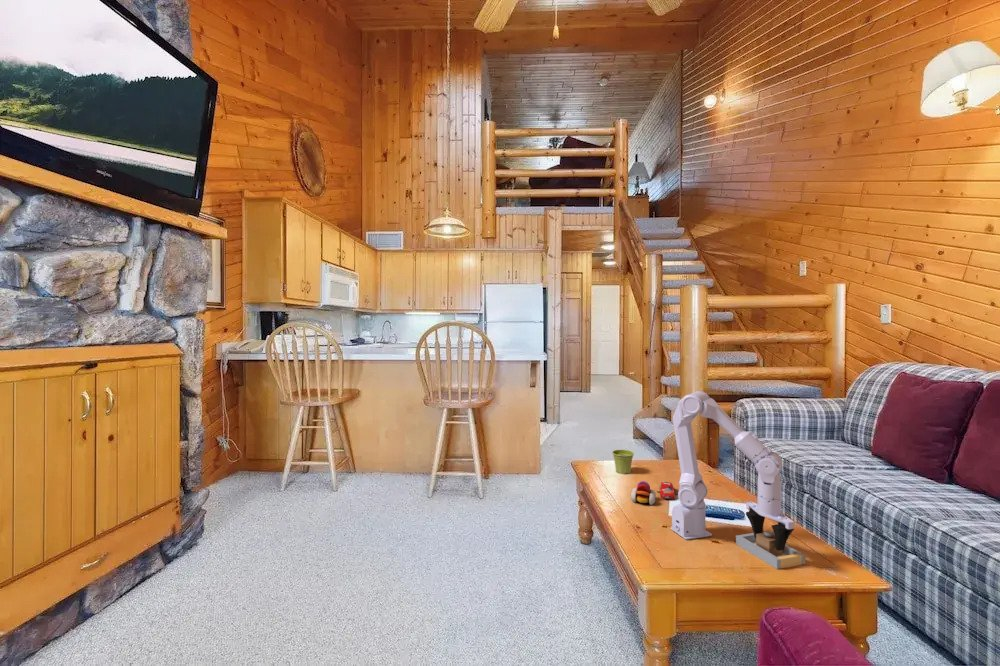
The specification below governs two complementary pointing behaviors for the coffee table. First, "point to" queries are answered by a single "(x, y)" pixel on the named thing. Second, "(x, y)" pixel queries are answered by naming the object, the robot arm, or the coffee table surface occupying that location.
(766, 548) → the block with grey knob
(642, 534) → the coffee table surface
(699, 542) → the coffee table surface
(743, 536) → the tray
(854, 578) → the coffee table surface
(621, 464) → the plant pot
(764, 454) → the robot arm
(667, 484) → the race car
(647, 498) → the rainbow flower
